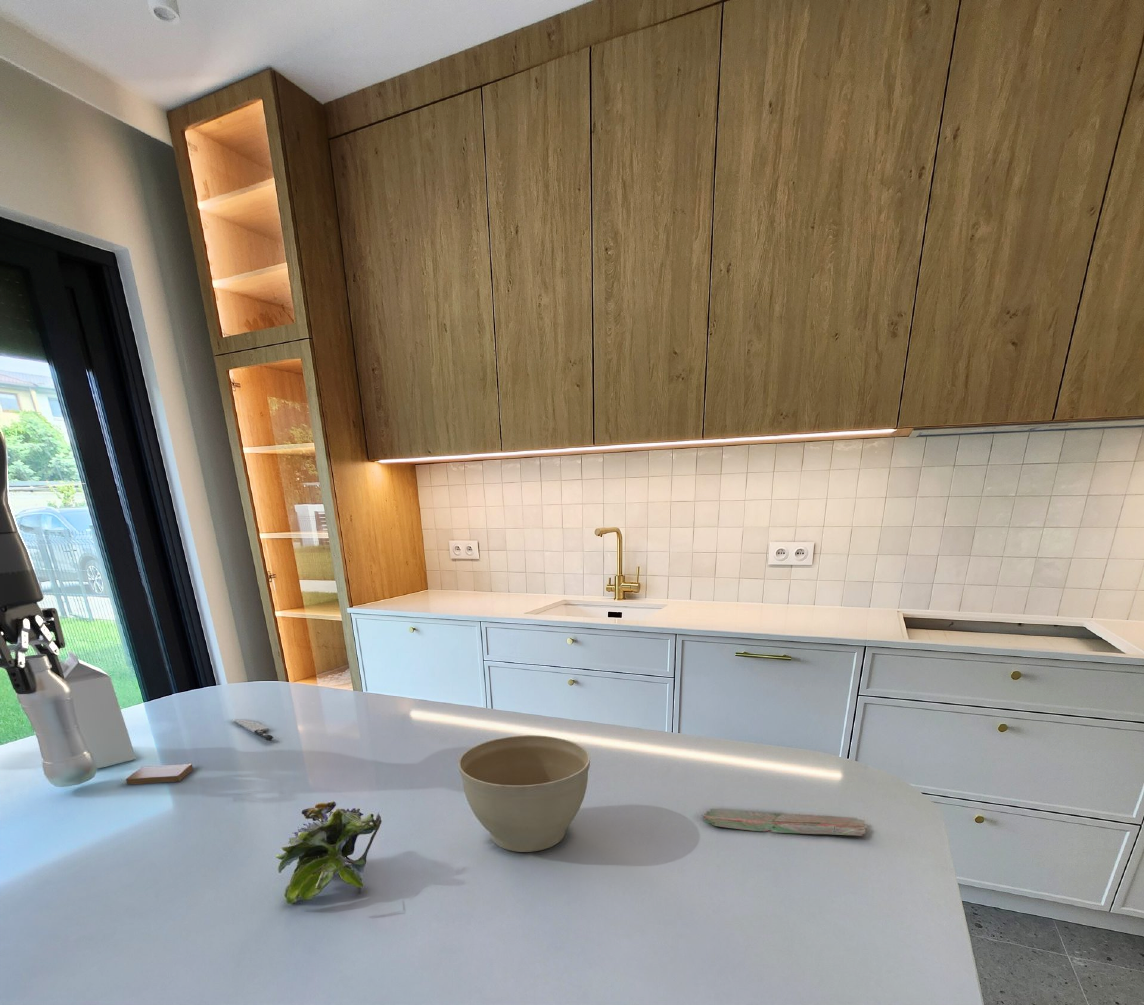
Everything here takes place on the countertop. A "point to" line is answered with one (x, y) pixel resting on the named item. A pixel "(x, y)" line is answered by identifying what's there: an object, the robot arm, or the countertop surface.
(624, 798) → the countertop surface
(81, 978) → the countertop surface
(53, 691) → the plastic bottle
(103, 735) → the milk carton
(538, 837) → the planter bowl
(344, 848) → the passion flower
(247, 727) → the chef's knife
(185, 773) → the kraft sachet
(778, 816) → the map
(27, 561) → the robot arm
